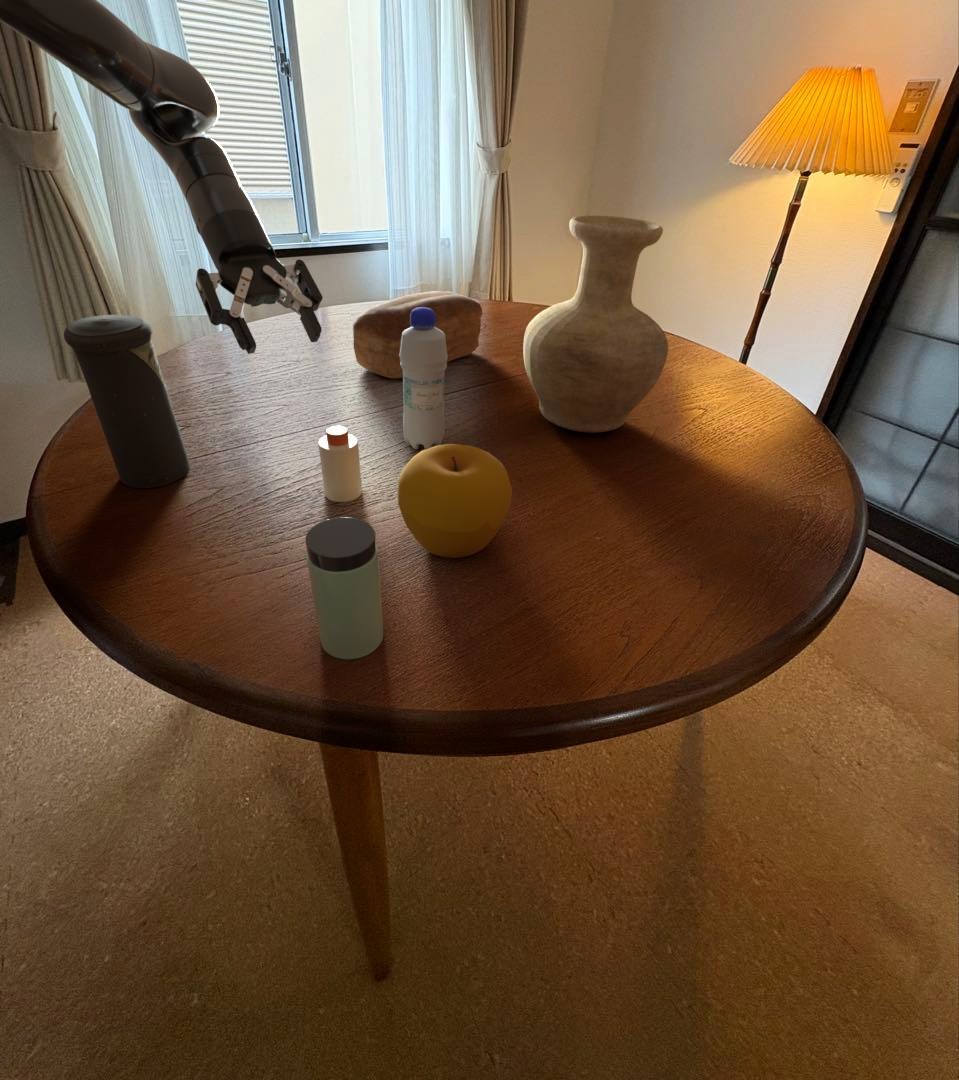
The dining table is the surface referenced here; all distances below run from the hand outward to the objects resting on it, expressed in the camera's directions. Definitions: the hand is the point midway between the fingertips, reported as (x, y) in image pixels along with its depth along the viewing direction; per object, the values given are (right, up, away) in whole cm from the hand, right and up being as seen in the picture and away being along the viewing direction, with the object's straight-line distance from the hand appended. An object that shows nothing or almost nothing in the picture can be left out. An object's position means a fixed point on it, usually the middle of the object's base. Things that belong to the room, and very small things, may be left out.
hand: (285, 344), depth 71 cm
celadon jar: (+12, -34, -17) cm, 40 cm away
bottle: (+16, -10, +15) cm, 24 cm away
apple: (+21, -25, -4) cm, 33 cm away
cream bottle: (+7, -18, +3) cm, 20 cm away
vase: (+42, -4, +25) cm, 49 cm away
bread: (+13, +12, +44) cm, 48 cm away
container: (-19, -16, +4) cm, 25 cm away
